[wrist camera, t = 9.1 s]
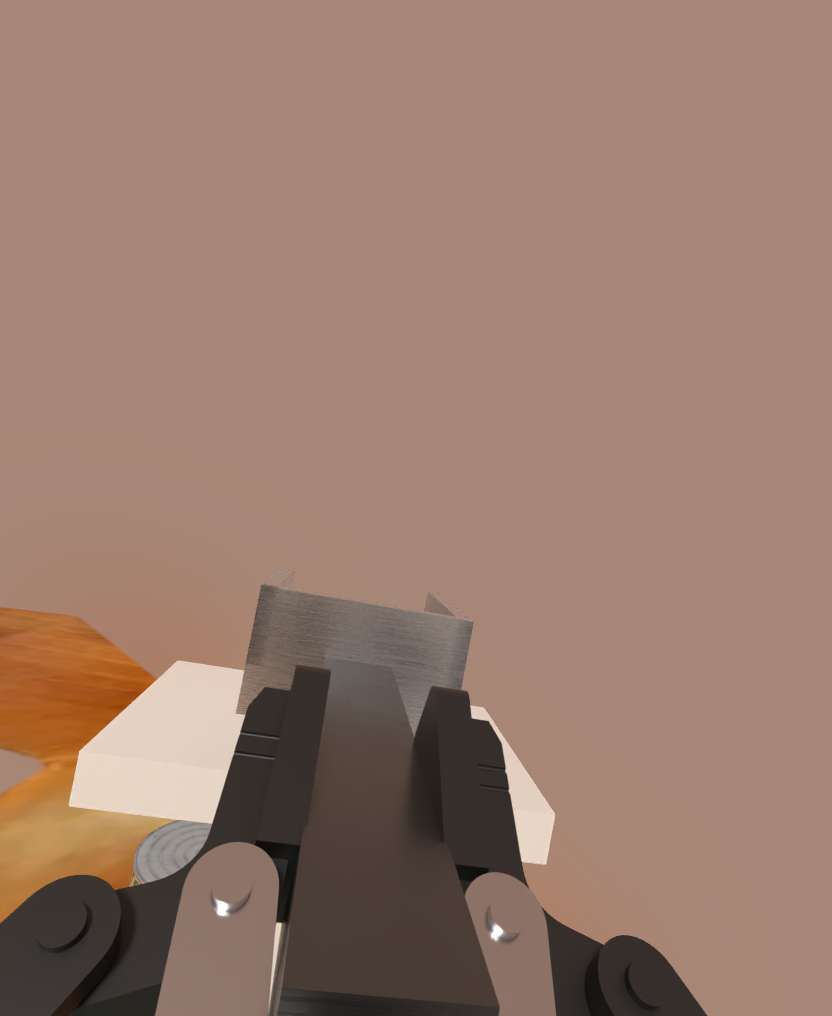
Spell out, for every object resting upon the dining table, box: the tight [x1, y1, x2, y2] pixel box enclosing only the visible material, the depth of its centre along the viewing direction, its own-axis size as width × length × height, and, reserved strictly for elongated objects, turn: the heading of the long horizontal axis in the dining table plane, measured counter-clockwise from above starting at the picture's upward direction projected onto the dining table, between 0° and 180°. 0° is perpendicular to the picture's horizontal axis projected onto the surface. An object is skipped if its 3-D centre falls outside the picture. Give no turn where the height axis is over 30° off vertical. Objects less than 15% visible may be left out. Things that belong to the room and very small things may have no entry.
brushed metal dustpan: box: [236, 566, 500, 1016], centre depth 16 cm, size 20×7×4 cm, turn 7°
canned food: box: [130, 820, 212, 887], centre depth 47 cm, size 11×11×12 cm
